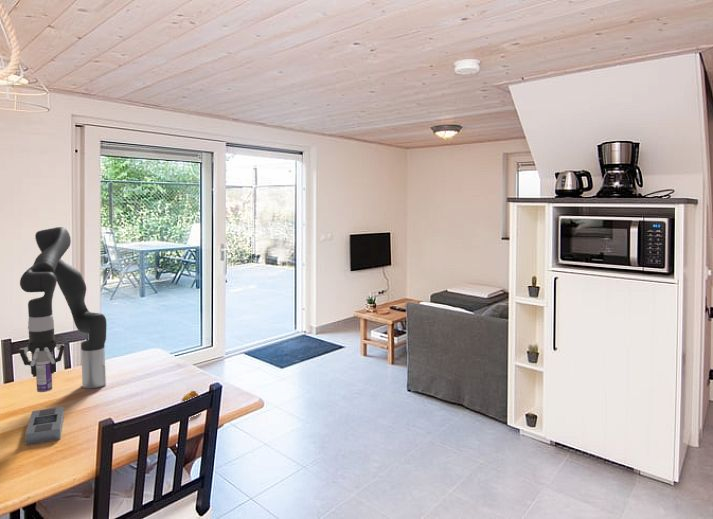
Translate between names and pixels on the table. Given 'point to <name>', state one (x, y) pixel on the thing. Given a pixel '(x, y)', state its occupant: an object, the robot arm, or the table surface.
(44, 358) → the container
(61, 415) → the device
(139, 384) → the table surface
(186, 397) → the fruit
